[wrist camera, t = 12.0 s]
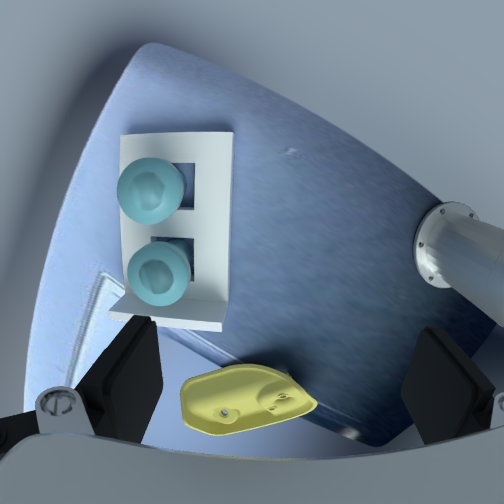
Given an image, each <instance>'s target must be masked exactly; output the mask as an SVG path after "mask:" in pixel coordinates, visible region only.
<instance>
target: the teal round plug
mask: <svg viewBox="0 0 504 504" xmlns="http://www.w3.org/2000/svg"><path fill="white" fill-rule="evenodd" d="M186 188H187V181H186V178H185V176H184V175H183V174H182V173H181V172H180V171H178V170H177V168H176V167H175V166H174V165H173V164H171V163H170V162H168V161H167V160H164V159H161V158H141V159H138V160H135V161H133V162H132V163H130V164H129V165H128V166H127V167H126V168H125V169H124V170H123V172H122V174H121V175H120V178H119V181H118V185H117V197H118V201H119V204H120V207H121V209H122V210H123V212H124V213H125V214H126V215H127V216H128V217H129V218H130V219H132V220H133V221H135V222H137V223H140V224H146V225H151V224H156V223H159V222H161V221H163V220H165V219H166V218H168V217H170V216H171V215H172V214H173V213H175V211H176V210H177V209H178V208H179V206H180V204H181V202H182V199H183V195H184V193H185V191H186Z"/></svg>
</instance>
